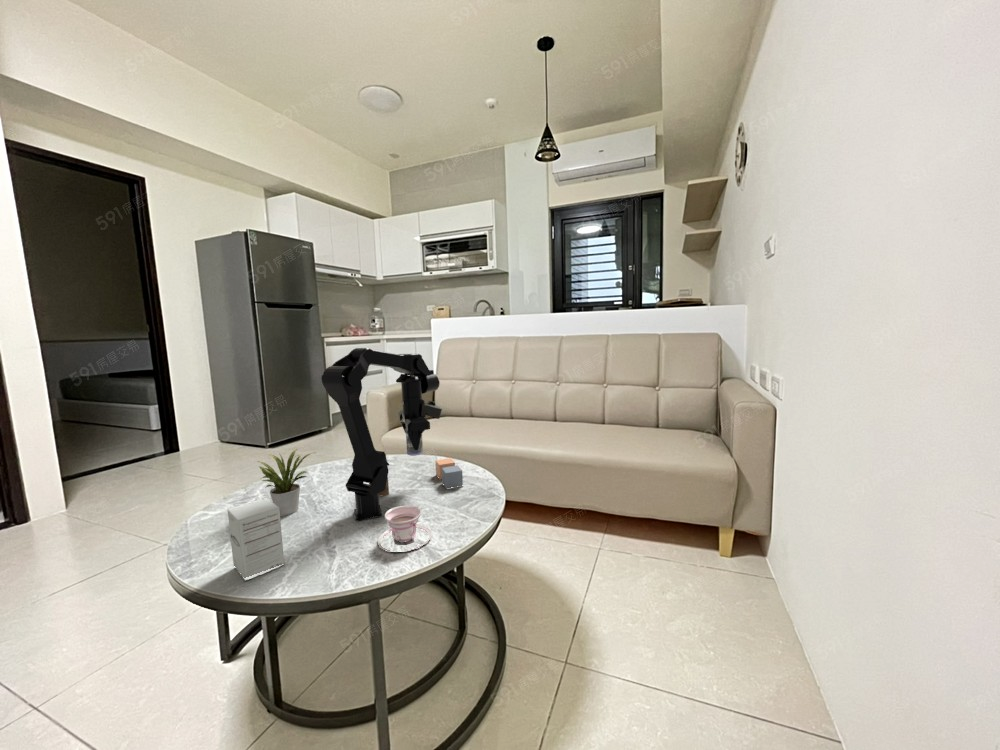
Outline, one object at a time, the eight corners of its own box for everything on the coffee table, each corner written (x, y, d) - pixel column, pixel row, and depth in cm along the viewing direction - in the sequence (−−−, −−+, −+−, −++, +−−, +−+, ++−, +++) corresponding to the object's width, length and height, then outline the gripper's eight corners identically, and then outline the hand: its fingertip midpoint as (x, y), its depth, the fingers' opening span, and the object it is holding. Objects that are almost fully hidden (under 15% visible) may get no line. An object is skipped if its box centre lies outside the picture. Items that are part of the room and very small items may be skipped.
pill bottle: (403, 454, 117) (402, 427, 116) (415, 450, 121) (413, 423, 120) (415, 457, 115) (413, 428, 114) (426, 452, 119) (425, 425, 118)
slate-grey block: (462, 486, 118) (462, 470, 117) (446, 489, 116) (445, 473, 116) (458, 480, 123) (457, 465, 122) (442, 483, 121) (441, 467, 120)
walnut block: (389, 494, 114) (388, 477, 113) (370, 497, 112) (369, 480, 111) (387, 488, 118) (386, 472, 118) (369, 491, 116) (368, 475, 116)
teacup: (368, 540, 89) (366, 514, 88) (414, 521, 97) (412, 497, 96) (394, 561, 80) (392, 532, 80) (442, 538, 89) (441, 512, 88)
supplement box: (232, 568, 79) (226, 508, 78) (273, 552, 85) (267, 496, 83) (243, 583, 74) (236, 519, 73) (285, 565, 80) (280, 506, 78)
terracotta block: (455, 477, 125) (454, 462, 125) (440, 480, 123) (439, 464, 123) (451, 472, 130) (450, 458, 129) (436, 475, 128) (435, 460, 127)
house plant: (316, 493, 115) (311, 439, 114) (326, 510, 104) (321, 450, 102) (259, 507, 107) (253, 449, 106) (263, 527, 96) (257, 462, 94)
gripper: (446, 398, 111) (449, 452, 112) (431, 390, 128) (434, 437, 129) (406, 402, 106) (409, 458, 108) (396, 392, 124) (399, 441, 125)
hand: (414, 447), depth 118 cm, fingers closed on pill bottle, 5 cm apart
